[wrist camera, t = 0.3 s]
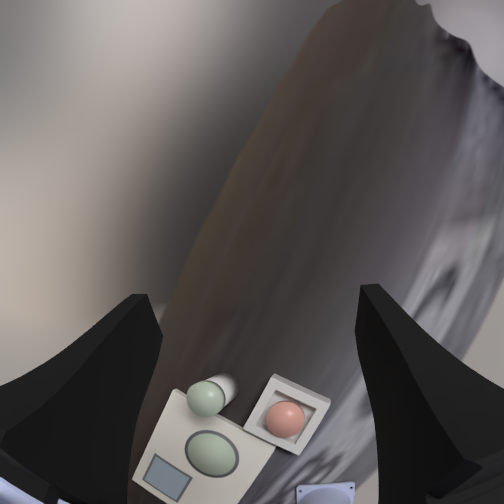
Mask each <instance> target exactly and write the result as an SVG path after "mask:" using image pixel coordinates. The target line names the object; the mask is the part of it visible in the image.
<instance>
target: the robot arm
mask: <svg viewBox="0 0 504 504" xmlns="http://www.w3.org/2000/svg"><path fill="white" fill-rule="evenodd" d="M355 336H356V343H357V350H358V356H359V360H360V364H361V368H362V372H363V376H364V380H365V383H366V387H367V391H368V395H369V399H370V403H371V407H372V412H373V417H374V422H375V431H376V441H377V454H378V473H379V501H378V504H504V389H503V388H501V387H499V386H498V385H496V384H494V383H493V382H491V381H489V380H487V379H486V378H485V377H483V376H481V375H480V374H478V373H477V372H475V371H474V370H472V369H471V368H469V367H468V366H467V365H465V364H464V363H462V362H461V361H460V360H459V359H457V358H456V357H455V356H453V355H452V354H451V353H450V352H448V351H447V350H446V349H445V348H443V347H442V346H441V345H440V344H439V343H438V342H436V341H435V340H434V339H433V338H432V337H431V336H430V335H429V334H428V333H426V332H425V331H424V330H423V329H422V328H421V327H420V326H419V325H418V324H417V323H416V322H415V321H414V320H413V319H412V318H411V317H410V316H409V315H408V314H407V313H406V312H405V311H404V310H403V309H402V308H401V307H400V306H399V305H398V304H397V302H396V301H395V300H394V299H393V298H392V297H391V296H390V295H389V294H388V293H387V292H386V291H385V290H384V289H383V288H382V287H381V286H380V285H379V284H368V285H361V287H360V295H359V303H358V311H357V318H356V325H355ZM162 338H163V335H162V332H161V330H160V327H159V325H158V322H157V320H156V317H155V315H154V312H153V309H152V306H151V304H150V301H149V298H148V296H147V294H132V295H130V296H129V297H127V298H126V299H125V300H123V301H122V302H121V303H120V304H118V305H117V306H116V307H115V308H114V309H113V310H112V311H110V312H109V313H108V314H107V315H106V316H104V317H103V318H102V319H101V320H100V321H99V322H97V323H96V324H95V325H94V326H93V327H92V328H90V329H89V330H88V331H87V332H85V333H84V334H83V335H82V336H81V337H79V338H78V339H77V340H76V341H74V342H73V343H72V344H71V345H69V346H68V347H67V348H65V349H64V350H63V351H61V352H60V353H59V354H57V355H56V356H54V357H53V358H51V359H50V360H48V361H47V362H45V363H44V364H42V365H40V366H38V367H37V368H35V369H33V370H32V371H30V372H28V373H26V374H25V375H23V376H21V377H19V378H17V379H15V380H13V381H11V382H9V383H6V384H4V385H2V386H0V504H127V483H128V472H129V461H130V455H131V448H132V442H133V436H134V431H135V427H136V422H137V418H138V414H139V411H140V408H141V405H142V402H143V399H144V397H145V394H146V391H147V388H148V386H149V383H150V380H151V377H152V375H153V372H154V369H155V366H156V363H157V360H158V356H159V352H160V348H161V343H162ZM350 487H352V488H350ZM299 490H301V492H300V491H299ZM296 491H297V504H354V491H355V483H354V482H342V483H331V484H314V485H298V486H297V489H296Z"/></svg>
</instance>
